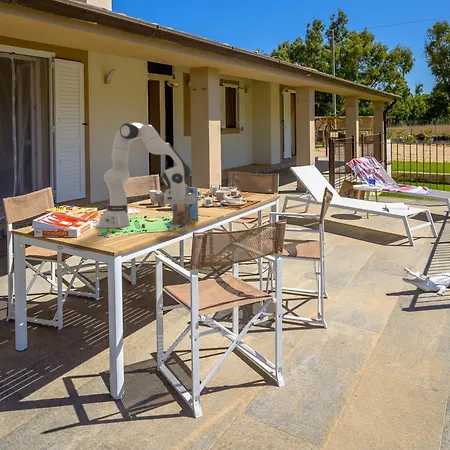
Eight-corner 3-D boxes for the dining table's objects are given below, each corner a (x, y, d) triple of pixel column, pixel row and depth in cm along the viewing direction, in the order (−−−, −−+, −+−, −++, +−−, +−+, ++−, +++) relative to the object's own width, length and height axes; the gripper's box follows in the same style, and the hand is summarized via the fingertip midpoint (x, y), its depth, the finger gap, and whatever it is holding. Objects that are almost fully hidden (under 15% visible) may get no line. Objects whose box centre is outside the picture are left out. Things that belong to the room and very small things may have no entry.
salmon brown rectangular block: (177, 215, 345) (176, 197, 342) (177, 214, 349) (177, 197, 346) (184, 215, 345) (184, 197, 342) (184, 214, 349) (184, 197, 346)
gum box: (198, 218, 364) (197, 187, 360) (194, 220, 360) (193, 188, 356) (177, 216, 375) (176, 186, 371) (173, 217, 371) (172, 186, 367)
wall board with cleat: (172, 224, 343) (171, 188, 338) (173, 222, 352) (172, 186, 347) (189, 224, 343) (189, 188, 338) (190, 222, 352) (189, 186, 347)
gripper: (195, 189, 324) (195, 202, 336) (163, 189, 324) (165, 202, 335) (195, 197, 321) (195, 209, 332) (162, 197, 320) (164, 210, 332)
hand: (180, 206), depth 334 cm, fingers open, 8 cm apart
